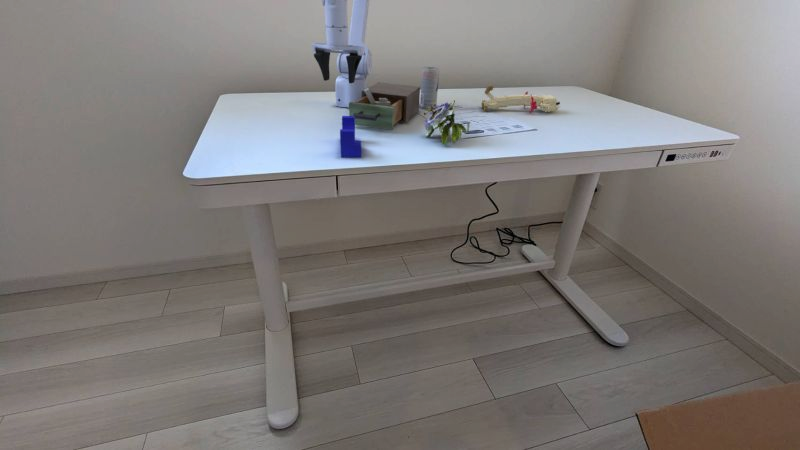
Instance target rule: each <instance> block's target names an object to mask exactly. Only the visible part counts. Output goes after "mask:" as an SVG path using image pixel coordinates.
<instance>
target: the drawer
mask: <svg viewBox="0 0 800 450" xmlns="http://www.w3.org/2000/svg"><path fill="white" fill-rule="evenodd" d="M372 96H373V98H374V100H375V101H379V98H386V99H388V101H390V107H389V106H381V105H375V103H374V104H370V102H369V99H368V97H367V95H366V96H364V97H363V98H361V99H359V100H357V101H355V102H349V108H348V116H355V126H361V127H368V128H375V129H381V130H389V131H393V130H394V129H395V127H394V126H395V125H396V124H397V123H398V121H399V120H401V119H402V118H403V113H404V99H400V98H391V97H383V96H374V95H372Z"/></svg>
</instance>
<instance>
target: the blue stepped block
mask: <svg viewBox="0 0 800 450" xmlns="http://www.w3.org/2000/svg"><path fill="white" fill-rule="evenodd" d="M339 141H340V142H339V143H340V158H362V140H356V125H355V116H349V115H341V129H339Z"/></svg>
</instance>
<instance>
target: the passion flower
mask: <svg viewBox="0 0 800 450" xmlns="http://www.w3.org/2000/svg"><path fill="white" fill-rule="evenodd" d="M455 104H456V100H455V99H452V100H451V101H450V102H445V103H442V104H440V105H438V106H436V107H435V110H434V109H433V107H434V105H435V103H433V104H431V105H430V106H428V108H427V109H425V111H424V112H423V115H424V116H426V115H427V114H428V113H430V114H429V116H428V117H427V119H425V125H424V127H425V130H426V131H427V132H426V135H425V137H426V138H430V137H431V136H432V134H433V133H434V132H435V130H436V129H438V130H439V132H440V134H441V144H442V145H443V146H444V147H447V146H448V141H449V139H450V134H451V144H454V143H456V142H457V141H459V140H460V138H461V137H462V133H463V132H464V133H467V132H469V131H470V124H471V122H470V121H468V122H463V123H459V122H455V121H456V120H455V114H456V113H455V110H454V106H455ZM464 125H466V127H465V126H464Z"/></svg>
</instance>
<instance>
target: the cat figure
mask: <svg viewBox="0 0 800 450" xmlns="http://www.w3.org/2000/svg"><path fill="white" fill-rule="evenodd" d="M493 90H494V86H493V85H492V84H488V86H487V87H486V88H485V90H484V95H486V97H487V98H489V100H486V99H485V98H484V99H481V109H483V112H488V109H489V108H490V110H498V109H501V108H508V107H521V106H523V108H524V109H523V110H526V107H530V110H529V111H528V113H529V114H531V113H532V112H533V111H534V110H537V109H538V108H539V109H540V110H541V111H543V112H545V113H547V112H548V113H549V112H554V111H558V109H559V108H561V106H560V105H561V102H560V101H559V100H558V99H557V98H556V97H555V96H553V95H551V94H544V95H543V94H542V95H538V94H535V95H534V94H530V95H529V91H525V93H524V94H512V95H503V96H494V95H493V94H492V93H491V92H492V91H493Z"/></svg>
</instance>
